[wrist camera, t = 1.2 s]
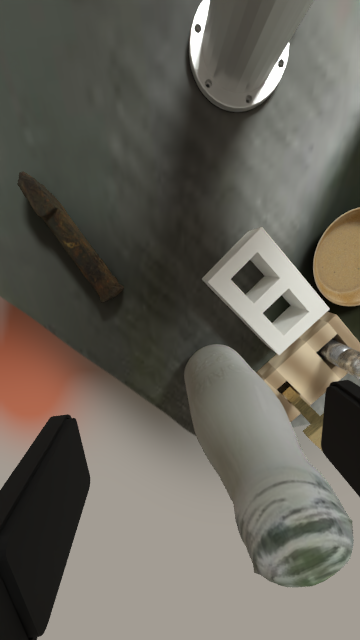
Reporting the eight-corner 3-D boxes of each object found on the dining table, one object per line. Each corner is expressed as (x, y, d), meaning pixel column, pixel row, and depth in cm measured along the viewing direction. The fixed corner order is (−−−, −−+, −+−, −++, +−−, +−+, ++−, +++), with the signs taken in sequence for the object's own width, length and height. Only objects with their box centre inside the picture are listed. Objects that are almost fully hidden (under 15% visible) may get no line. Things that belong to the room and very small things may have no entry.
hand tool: (127, 288, 36) (123, 292, 32) (105, 301, 36) (98, 307, 32) (49, 167, 31) (31, 151, 27) (24, 183, 32) (2, 170, 27)
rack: (247, 231, 35) (262, 226, 30) (308, 302, 39) (330, 309, 34) (201, 279, 36) (207, 281, 32) (264, 344, 40) (279, 355, 35)
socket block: (323, 310, 40) (336, 314, 37) (354, 347, 42) (369, 354, 39) (246, 381, 42) (252, 390, 39) (280, 413, 44) (288, 423, 41)
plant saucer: (405, 228, 38) (423, 226, 35) (362, 313, 41) (375, 317, 38) (328, 195, 35) (341, 191, 33) (288, 288, 38) (297, 290, 36)
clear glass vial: (324, 332, 41) (382, 357, 30) (335, 344, 42) (395, 374, 31) (308, 345, 41) (360, 376, 31) (319, 358, 42) (374, 391, 31)
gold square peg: (294, 378, 38) (335, 415, 29) (309, 394, 39) (353, 434, 30) (273, 396, 38) (308, 437, 30) (289, 411, 39) (327, 455, 31)
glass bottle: (203, 399, 42) (284, 650, 15) (170, 357, 39) (193, 571, 12) (249, 367, 41) (420, 573, 14) (217, 323, 39) (353, 473, 12)
